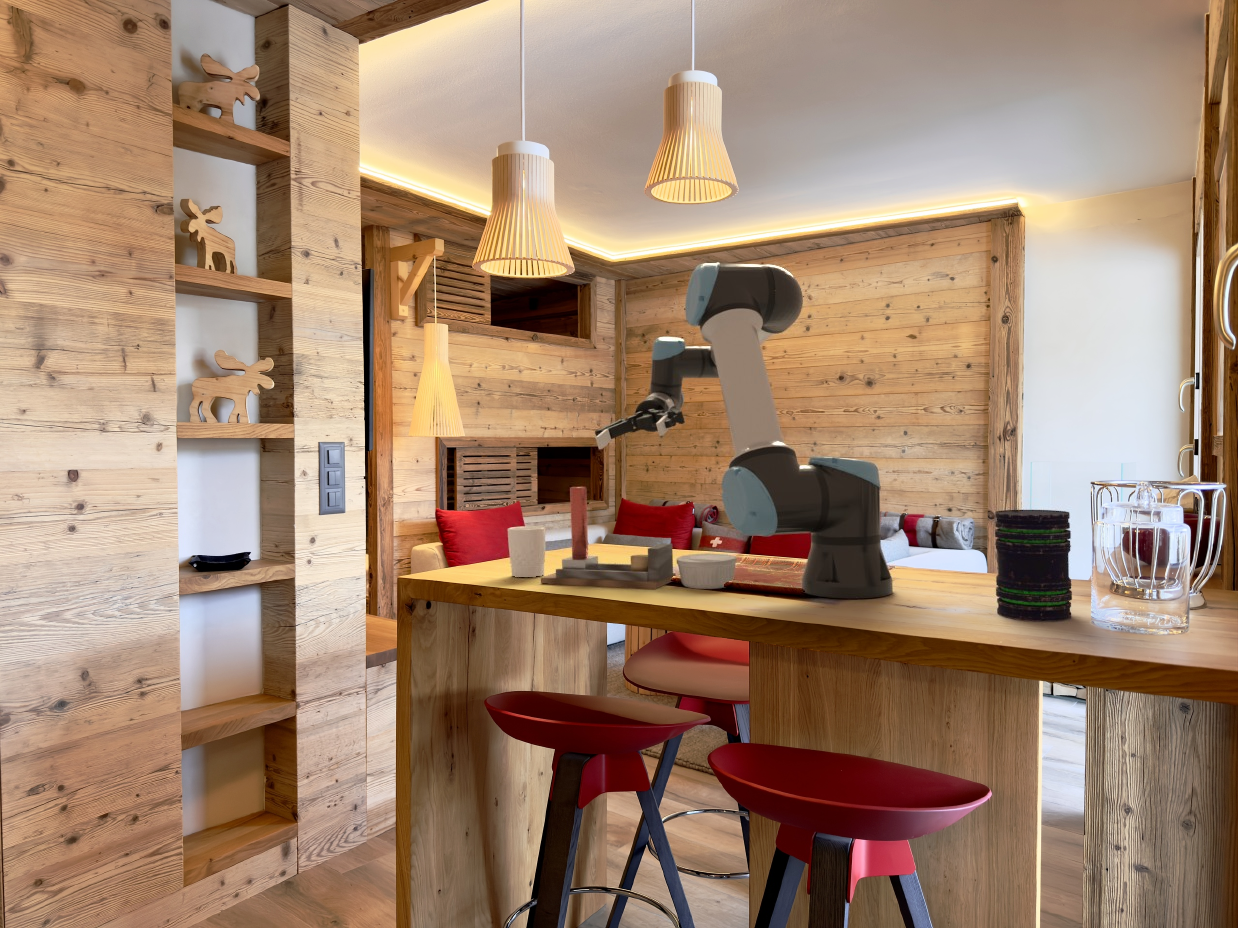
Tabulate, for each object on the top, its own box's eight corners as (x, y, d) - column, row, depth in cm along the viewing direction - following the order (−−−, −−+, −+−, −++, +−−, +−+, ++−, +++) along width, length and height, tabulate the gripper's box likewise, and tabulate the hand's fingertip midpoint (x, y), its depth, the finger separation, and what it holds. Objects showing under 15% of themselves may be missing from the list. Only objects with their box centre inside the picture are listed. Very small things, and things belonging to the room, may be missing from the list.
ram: (598, 571, 161) (596, 486, 161) (585, 575, 156) (582, 488, 156) (576, 570, 163) (573, 486, 163) (562, 574, 158) (559, 488, 158)
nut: (651, 578, 152) (650, 557, 152) (630, 578, 153) (629, 557, 153) (652, 574, 156) (652, 554, 156) (632, 575, 157) (631, 554, 157)
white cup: (550, 572, 171) (548, 525, 171) (542, 578, 164) (541, 529, 163) (513, 573, 172) (512, 526, 172) (504, 578, 164) (503, 530, 164)
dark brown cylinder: (1089, 617, 114) (1087, 512, 114) (1036, 624, 111) (1034, 516, 111) (1030, 605, 124) (1028, 508, 123) (981, 611, 120) (978, 511, 120)
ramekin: (676, 590, 146) (675, 561, 146) (678, 580, 157) (677, 553, 157) (738, 590, 145) (737, 560, 144) (736, 580, 156) (735, 552, 156)
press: (675, 579, 158) (674, 542, 157) (656, 588, 147) (654, 549, 147) (566, 575, 167) (565, 540, 167) (540, 583, 157) (539, 546, 157)
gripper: (710, 416, 181) (690, 441, 162) (609, 439, 190) (579, 465, 171) (702, 384, 180) (680, 405, 161) (600, 408, 189) (569, 431, 169)
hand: (628, 436), depth 166 cm, fingers open, 13 cm apart
